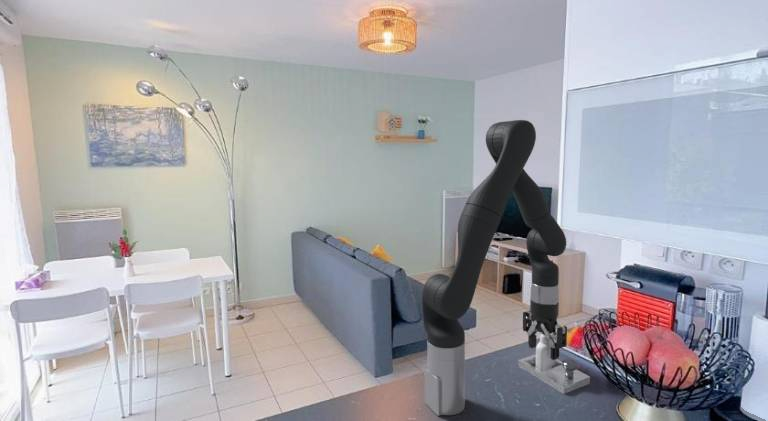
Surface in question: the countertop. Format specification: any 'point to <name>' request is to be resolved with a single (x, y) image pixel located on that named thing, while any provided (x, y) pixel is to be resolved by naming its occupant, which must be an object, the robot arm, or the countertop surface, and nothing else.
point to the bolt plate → (557, 374)
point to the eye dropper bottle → (543, 354)
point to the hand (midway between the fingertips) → (543, 353)
